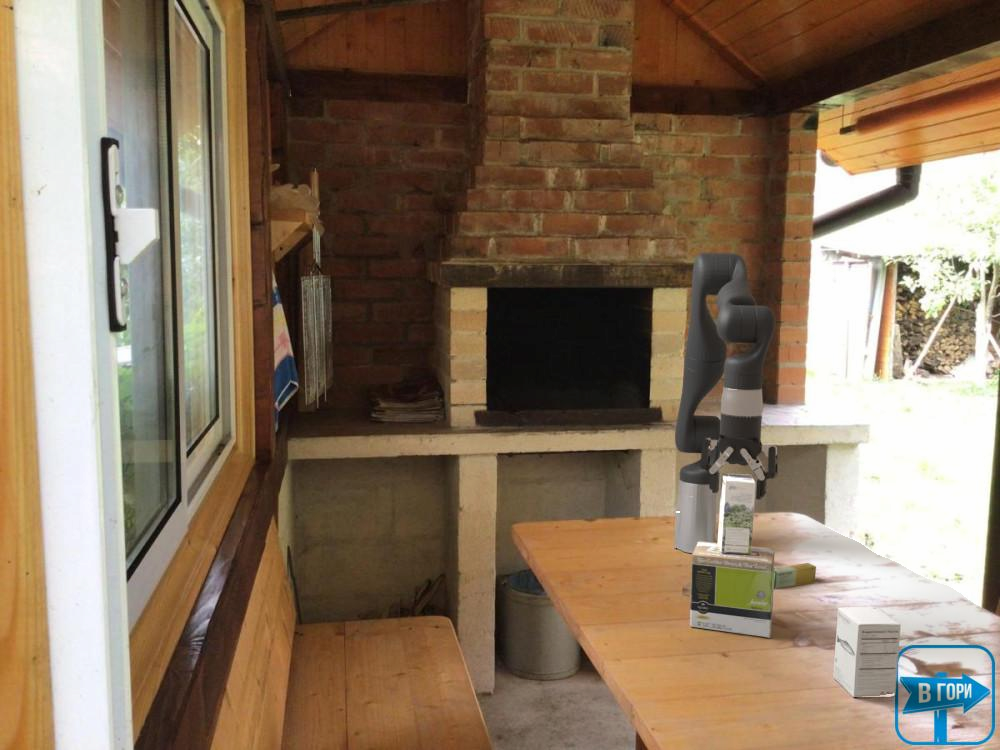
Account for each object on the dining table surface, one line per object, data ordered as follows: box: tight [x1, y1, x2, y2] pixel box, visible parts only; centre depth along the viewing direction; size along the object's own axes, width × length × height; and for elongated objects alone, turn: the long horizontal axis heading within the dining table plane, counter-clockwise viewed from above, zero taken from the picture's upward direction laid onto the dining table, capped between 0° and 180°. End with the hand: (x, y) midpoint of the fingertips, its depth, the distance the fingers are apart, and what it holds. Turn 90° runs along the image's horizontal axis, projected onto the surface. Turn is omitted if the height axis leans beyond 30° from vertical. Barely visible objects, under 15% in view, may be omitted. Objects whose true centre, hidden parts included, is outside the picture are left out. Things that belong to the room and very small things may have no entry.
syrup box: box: [716, 473, 757, 554], centre depth 168 cm, size 6×6×14 cm
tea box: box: [689, 541, 775, 638], centre depth 170 cm, size 15×10×15 cm
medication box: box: [773, 562, 817, 590], centre depth 193 cm, size 12×3×4 cm, turn 115°
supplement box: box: [832, 606, 902, 698], centre depth 144 cm, size 7×7×13 cm
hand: (737, 495), depth 168 cm, fingers open, 8 cm apart
